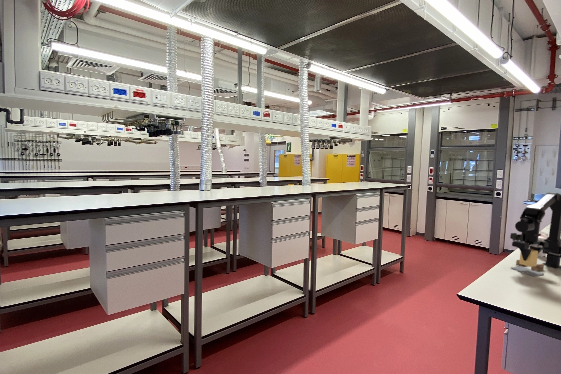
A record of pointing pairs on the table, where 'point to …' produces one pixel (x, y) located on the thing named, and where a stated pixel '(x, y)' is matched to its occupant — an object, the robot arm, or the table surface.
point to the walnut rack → (537, 267)
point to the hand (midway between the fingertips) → (528, 260)
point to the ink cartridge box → (542, 240)
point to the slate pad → (527, 271)
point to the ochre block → (529, 259)
